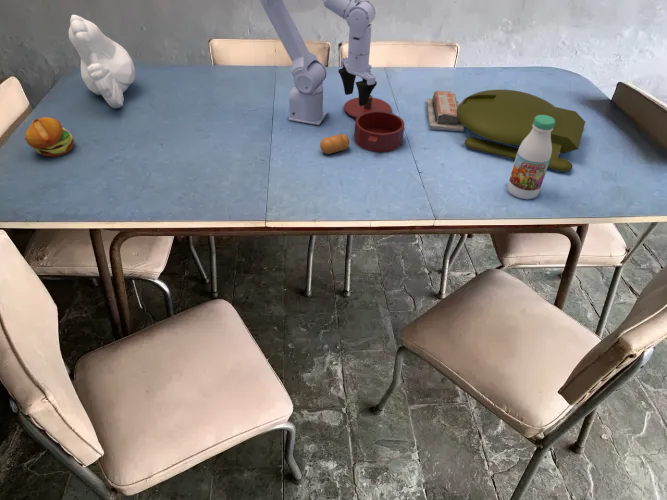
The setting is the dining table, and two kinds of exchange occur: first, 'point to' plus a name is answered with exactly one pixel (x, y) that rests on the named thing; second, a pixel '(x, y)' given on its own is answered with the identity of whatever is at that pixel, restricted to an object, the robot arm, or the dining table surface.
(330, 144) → the bread roll
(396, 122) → the pot
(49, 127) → the cheeseburger
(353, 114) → the pot lid
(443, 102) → the packaged product
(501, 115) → the spaceship
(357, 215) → the dining table surface
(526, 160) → the milk bottle
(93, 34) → the white rounded figure
